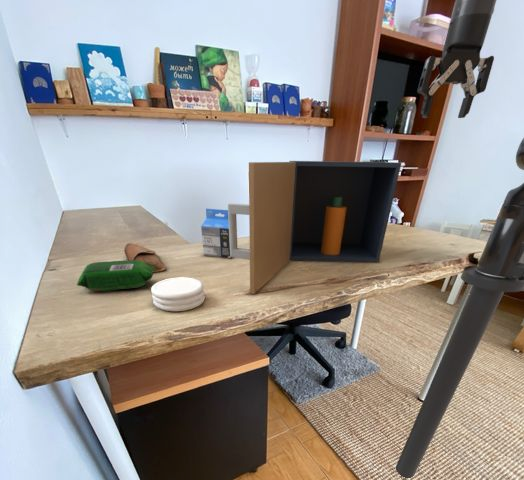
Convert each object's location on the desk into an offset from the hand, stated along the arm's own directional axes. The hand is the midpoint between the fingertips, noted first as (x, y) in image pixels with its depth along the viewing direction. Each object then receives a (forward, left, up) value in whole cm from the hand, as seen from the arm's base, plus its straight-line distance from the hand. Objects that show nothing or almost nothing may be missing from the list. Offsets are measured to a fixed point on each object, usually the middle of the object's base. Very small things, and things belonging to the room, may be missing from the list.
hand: (443, 117), depth 70 cm
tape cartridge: (+31, +46, -33) cm, 65 cm away
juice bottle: (+13, +18, -32) cm, 39 cm away
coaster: (+5, +68, -33) cm, 76 cm away
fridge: (+16, +16, -33) cm, 40 cm away
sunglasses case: (+34, +67, -33) cm, 82 cm away
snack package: (+20, +76, -33) cm, 85 cm away
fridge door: (+10, +44, -33) cm, 56 cm away
